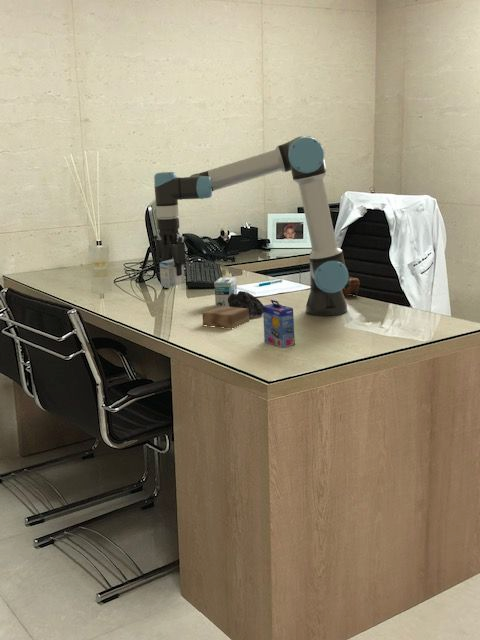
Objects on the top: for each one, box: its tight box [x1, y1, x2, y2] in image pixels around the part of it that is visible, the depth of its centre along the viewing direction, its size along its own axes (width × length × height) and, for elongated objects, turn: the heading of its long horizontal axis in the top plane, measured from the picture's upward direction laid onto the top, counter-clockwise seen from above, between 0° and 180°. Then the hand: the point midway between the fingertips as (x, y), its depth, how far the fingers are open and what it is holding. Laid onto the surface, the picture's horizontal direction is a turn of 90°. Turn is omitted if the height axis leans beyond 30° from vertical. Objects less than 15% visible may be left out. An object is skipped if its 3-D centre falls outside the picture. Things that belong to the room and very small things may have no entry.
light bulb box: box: [213, 277, 238, 308], centre depth 309 cm, size 11×7×11 cm, turn 168°
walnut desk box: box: [201, 306, 250, 330], centre depth 283 cm, size 12×12×5 cm
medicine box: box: [158, 258, 186, 288], centre depth 279 cm, size 8×4×9 cm, turn 141°
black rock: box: [228, 290, 264, 319], centre depth 295 cm, size 13×14×10 cm
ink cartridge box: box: [262, 299, 296, 349], centre depth 254 cm, size 10×6×14 cm, turn 35°
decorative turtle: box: [342, 276, 361, 298], centre depth 322 cm, size 10×15×8 cm, turn 36°
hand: (172, 283), depth 280 cm, fingers closed on medicine box, 4 cm apart
